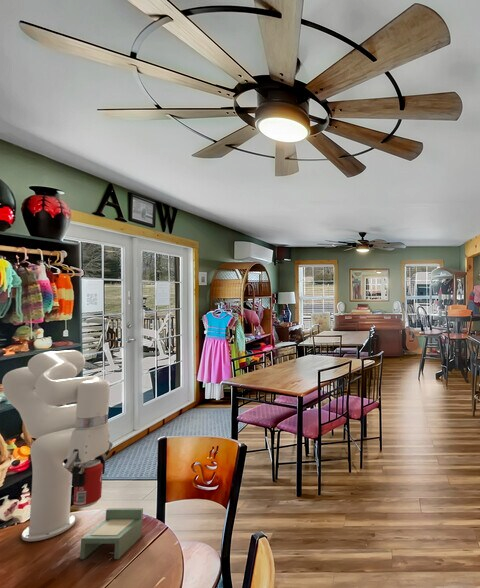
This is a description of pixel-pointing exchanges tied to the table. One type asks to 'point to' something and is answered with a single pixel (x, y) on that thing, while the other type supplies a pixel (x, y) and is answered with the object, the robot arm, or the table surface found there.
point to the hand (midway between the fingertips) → (88, 479)
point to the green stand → (114, 531)
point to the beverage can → (89, 485)
